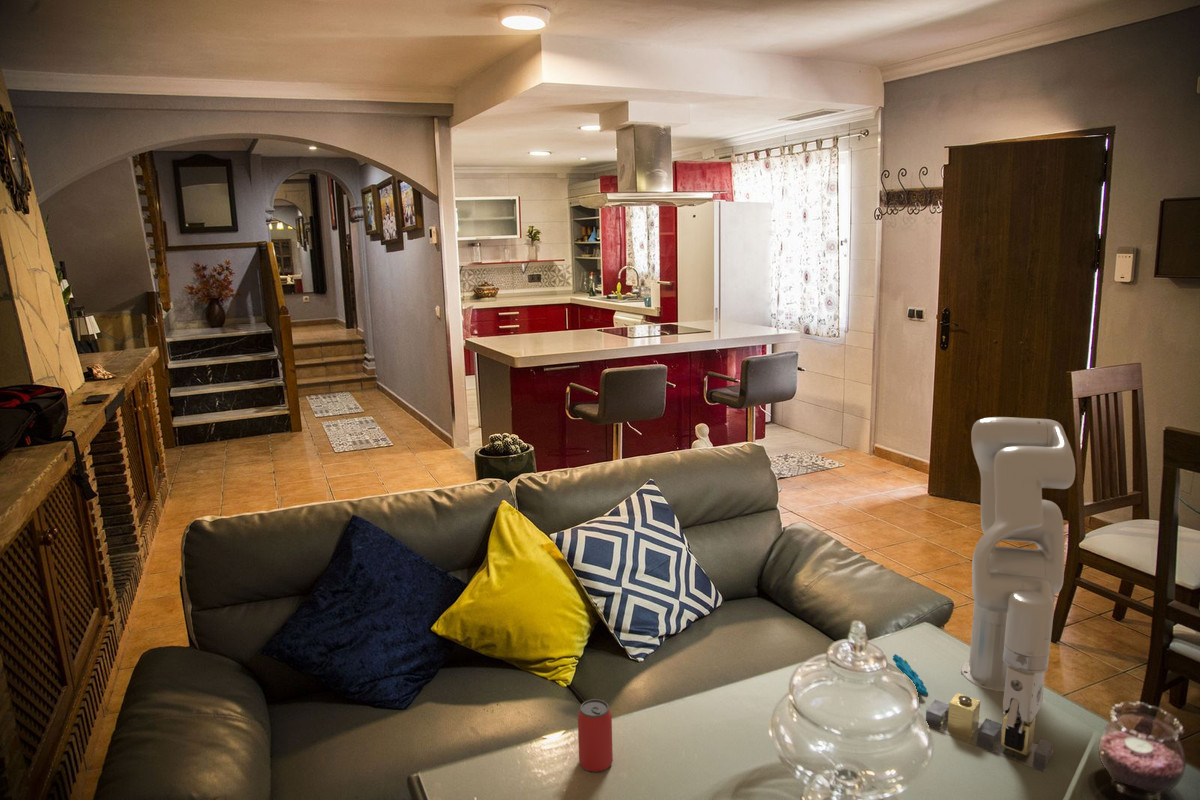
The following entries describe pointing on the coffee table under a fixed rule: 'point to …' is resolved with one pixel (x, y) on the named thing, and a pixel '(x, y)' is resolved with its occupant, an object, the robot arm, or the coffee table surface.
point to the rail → (990, 738)
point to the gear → (910, 673)
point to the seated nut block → (963, 715)
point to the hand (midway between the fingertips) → (1017, 740)
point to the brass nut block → (1027, 738)
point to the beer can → (595, 735)
